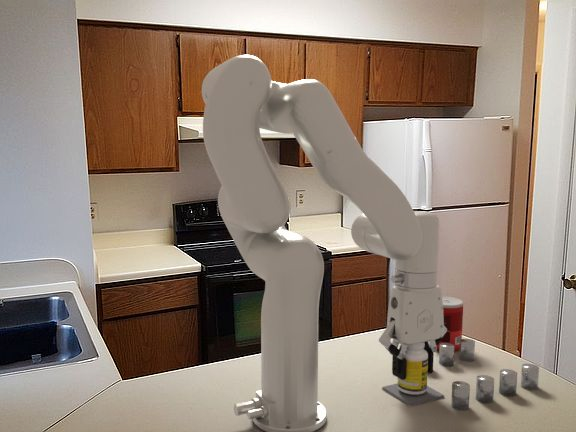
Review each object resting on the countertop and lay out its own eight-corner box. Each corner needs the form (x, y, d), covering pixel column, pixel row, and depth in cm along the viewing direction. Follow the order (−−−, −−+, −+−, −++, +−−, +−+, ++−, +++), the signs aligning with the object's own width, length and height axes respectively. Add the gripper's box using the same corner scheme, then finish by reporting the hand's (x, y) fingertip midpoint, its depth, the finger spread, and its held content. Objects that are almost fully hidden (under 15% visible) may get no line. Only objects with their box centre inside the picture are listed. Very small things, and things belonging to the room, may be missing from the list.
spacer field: (460, 411, 94) (461, 389, 93) (391, 372, 110) (391, 353, 110) (541, 387, 103) (542, 367, 103) (466, 355, 120) (467, 337, 119)
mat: (410, 406, 95) (410, 404, 95) (382, 388, 102) (382, 386, 102) (444, 397, 99) (444, 395, 99) (415, 380, 106) (415, 379, 106)
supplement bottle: (425, 397, 97) (427, 345, 96) (395, 393, 99) (396, 342, 98) (428, 385, 102) (429, 335, 101) (399, 381, 104) (400, 332, 103)
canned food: (457, 341, 129) (459, 296, 128) (465, 353, 121) (467, 305, 120) (424, 340, 130) (426, 295, 128) (430, 352, 122) (431, 304, 121)
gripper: (391, 288, 91) (388, 390, 93) (465, 278, 99) (461, 373, 101) (365, 279, 98) (362, 375, 100) (437, 270, 105) (433, 359, 108)
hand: (412, 373), depth 100 cm, fingers open, 5 cm apart
